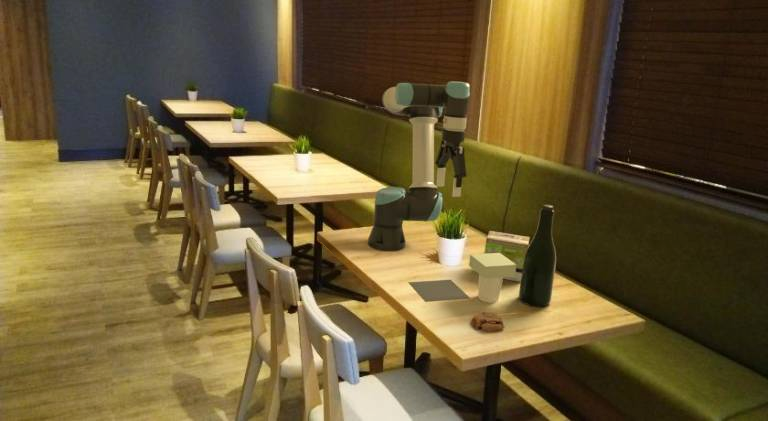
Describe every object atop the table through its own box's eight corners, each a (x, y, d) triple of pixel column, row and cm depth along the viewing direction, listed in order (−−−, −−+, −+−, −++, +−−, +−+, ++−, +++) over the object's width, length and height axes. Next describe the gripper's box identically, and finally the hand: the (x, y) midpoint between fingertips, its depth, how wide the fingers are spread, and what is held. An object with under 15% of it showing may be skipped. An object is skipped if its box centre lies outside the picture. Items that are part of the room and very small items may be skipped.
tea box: (481, 276, 222) (485, 237, 217) (484, 267, 231) (488, 229, 227) (523, 283, 218) (528, 243, 214) (524, 273, 227) (530, 235, 223)
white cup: (499, 305, 198) (503, 276, 195) (475, 302, 199) (478, 273, 196) (500, 296, 205) (504, 268, 202) (476, 292, 207) (480, 265, 204)
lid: (468, 265, 203) (470, 254, 202) (498, 264, 206) (499, 252, 205) (484, 278, 193) (485, 266, 192) (514, 276, 196) (516, 264, 195)
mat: (408, 283, 211) (408, 282, 211) (450, 280, 216) (450, 279, 216) (425, 302, 196) (425, 301, 196) (470, 299, 201) (470, 298, 201)
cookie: (504, 320, 188) (505, 311, 187) (504, 336, 178) (505, 326, 177) (471, 315, 190) (472, 306, 189) (470, 331, 180) (471, 321, 179)
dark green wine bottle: (557, 305, 201) (572, 208, 192) (531, 309, 196) (546, 211, 187) (536, 292, 210) (549, 200, 201) (511, 296, 205) (524, 202, 196)
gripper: (429, 123, 213) (424, 182, 219) (459, 135, 190) (452, 201, 196) (449, 123, 215) (443, 182, 221) (481, 135, 193) (474, 200, 199)
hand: (447, 191), depth 209 cm, fingers open, 13 cm apart
